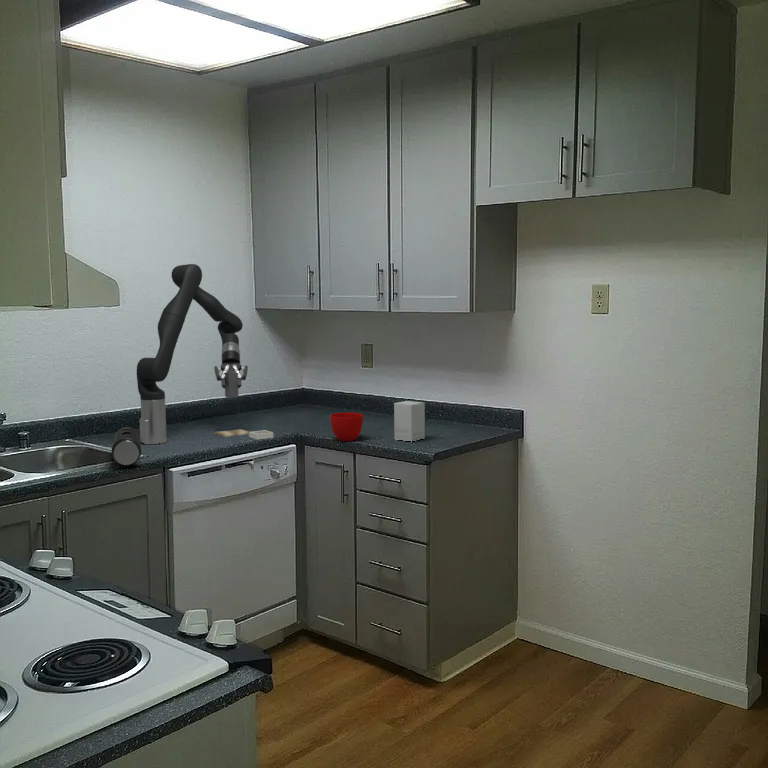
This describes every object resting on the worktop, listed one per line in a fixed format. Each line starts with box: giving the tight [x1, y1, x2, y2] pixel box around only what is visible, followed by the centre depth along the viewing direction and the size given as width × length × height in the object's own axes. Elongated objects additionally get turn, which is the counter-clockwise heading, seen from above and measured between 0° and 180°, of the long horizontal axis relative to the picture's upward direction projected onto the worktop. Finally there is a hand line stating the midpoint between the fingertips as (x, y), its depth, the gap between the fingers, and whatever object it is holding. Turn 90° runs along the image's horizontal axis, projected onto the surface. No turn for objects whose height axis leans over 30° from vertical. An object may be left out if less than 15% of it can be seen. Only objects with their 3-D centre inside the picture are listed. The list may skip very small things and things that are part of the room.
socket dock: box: [248, 429, 274, 440], centre depth 328 cm, size 7×7×3 cm
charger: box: [224, 372, 239, 399], centre depth 334 cm, size 4×4×10 cm
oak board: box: [213, 428, 250, 438], centre depth 336 cm, size 12×10×1 cm
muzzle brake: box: [111, 426, 142, 467], centre depth 285 cm, size 10×28×10 cm, turn 17°
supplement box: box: [393, 400, 426, 443], centre depth 322 cm, size 9×9×15 cm
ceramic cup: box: [329, 412, 364, 442], centre depth 325 cm, size 13×17×10 cm
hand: (231, 387), depth 332 cm, fingers closed on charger, 5 cm apart
